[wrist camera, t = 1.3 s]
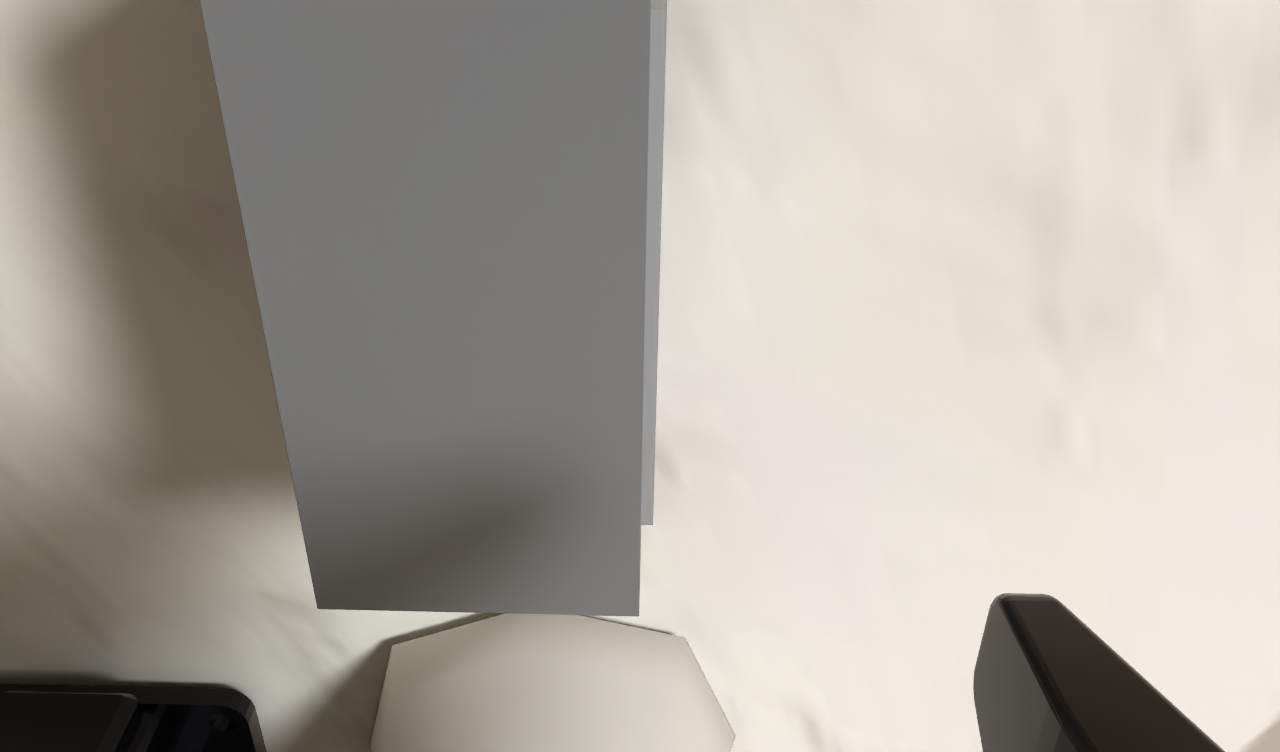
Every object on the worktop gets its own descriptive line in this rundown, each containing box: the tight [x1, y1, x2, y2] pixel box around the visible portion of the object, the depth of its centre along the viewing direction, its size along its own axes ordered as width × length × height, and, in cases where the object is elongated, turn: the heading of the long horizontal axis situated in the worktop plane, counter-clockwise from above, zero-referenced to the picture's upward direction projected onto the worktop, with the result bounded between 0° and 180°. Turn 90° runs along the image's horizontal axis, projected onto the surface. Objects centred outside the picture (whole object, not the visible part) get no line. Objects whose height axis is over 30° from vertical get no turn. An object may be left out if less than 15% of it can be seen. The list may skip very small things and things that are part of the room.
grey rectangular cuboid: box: [200, 0, 667, 616], centre depth 14 cm, size 8×4×5 cm, turn 179°
